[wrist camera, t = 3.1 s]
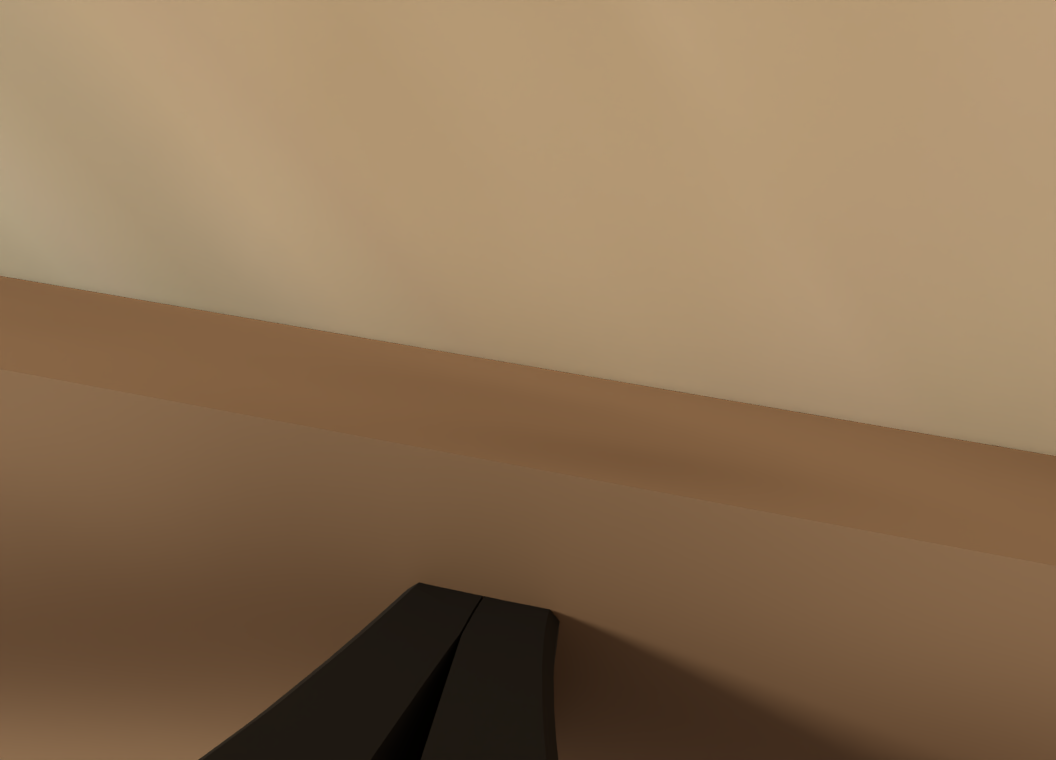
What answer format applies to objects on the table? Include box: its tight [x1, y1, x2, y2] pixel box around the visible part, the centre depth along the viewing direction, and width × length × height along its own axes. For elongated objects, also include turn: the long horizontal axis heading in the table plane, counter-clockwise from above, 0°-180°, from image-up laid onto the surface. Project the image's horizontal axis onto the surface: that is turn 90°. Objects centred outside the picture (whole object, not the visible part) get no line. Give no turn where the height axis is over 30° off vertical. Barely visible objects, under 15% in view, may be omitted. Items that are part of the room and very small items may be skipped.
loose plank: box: [0, 276, 1056, 760], centre depth 9 cm, size 7×22×2 cm, turn 83°
